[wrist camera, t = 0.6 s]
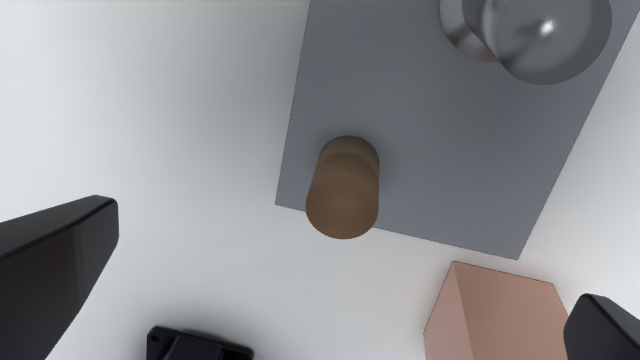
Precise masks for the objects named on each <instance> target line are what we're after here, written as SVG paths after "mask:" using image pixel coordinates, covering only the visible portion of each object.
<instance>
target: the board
mask: <svg viewBox="0 0 640 360" xmlns="http://www.w3.org/2000/svg"><path fill="white" fill-rule="evenodd" d="M609 2H610V5H611V10H612V27H611V32H610V35H609V38H608V41H607V43H606V45H605V47H604V49H603V51H602V52H601V54H600V55H599V57H598V58H597V59H596V60H595V61H594V62H593V63H592V64H591V65H590V66H589V67H588V68H587V69H586V70H584V71H583V72H582V73H580V74H579V75H577V76H575V77H574V78H572V79H569V80H567V81H564V82H561V83H558V84H553V85H533V84H529V83H525V82H523V81H520V80H518V79H517V78H515V77H514V76H512V75H511V74H510V73H509V72H508V71H507V70H506V69H505V68H504V67H503V66H502V65H501V63H500V62H486V61H480V60H477V59H473V58H471V57H469V56H467V55H465V54H464V53H462V52H461V51H459V50H458V49H457V48H456V47H455V46H454V45H453V44H452V43H451V41H450V40H449V38H448V37H447V35H446V34H445V32H444V29H443V27H442V24H441V21H440V15H439V0H310V5H309V11H308V17H307V22H306V28H305V34H304V40H303V45H302V51H301V57H300V63H299V68H298V74H297V80H296V86H295V91H294V97H293V103H292V109H291V114H290V120H289V126H288V132H287V137H286V143H285V149H284V155H283V161H282V166H281V172H280V178H279V184H278V189H277V195H276V201H275V205H279V206H283V207H287V208H292V209H296V210H300V211H305V212H306V209H305V203H306V198H307V195H308V191H309V188H310V185H311V181H312V178H313V174H314V171H315V168H316V164H317V161H318V158H319V154H320V152H321V150H322V148H323V147H324V146H325V145H326V144H327V143H328V142H329V141H330V140H332V139H334V138H336V137H340V136H346V135H349V136H356V137H360V138H362V139H364V140H366V141H367V142H369V143H370V144H371V145H372V146H373V147H374V149H375V150H376V152H377V154H378V157H379V163H380V166H379V211H378V217H377V219H376V222H375V223H374V225H373V226H372V227H374V228H378V229H383V230H387V231H392V232H396V233H400V234H405V235H409V236H413V237H418V238H422V239H426V240H431V241H435V242H439V243H444V244H448V245H452V246H457V247H461V248H465V249H470V250H474V251H478V252H483V253H487V254H491V255H496V256H500V257H504V258H509V259H513V260H518V258H519V256H520V254H521V252H522V250H523V248H524V246H525V244H526V242H527V240H528V238H529V236H530V234H531V231H532V229H533V227H534V225H535V223H536V221H537V219H538V217H539V215H540V213H541V211H542V209H543V207H544V205H545V203H546V201H547V199H548V197H549V195H550V193H551V190H552V188H553V186H554V184H555V182H556V180H557V178H558V176H559V174H560V172H561V170H562V168H563V166H564V164H565V162H566V160H567V158H568V156H569V154H570V152H571V149H572V147H573V145H574V143H575V141H576V139H577V137H578V135H579V133H580V131H581V129H582V127H583V125H584V123H585V121H586V119H587V117H588V115H589V113H590V111H591V108H592V106H593V104H594V102H595V100H596V98H597V96H598V94H599V92H600V90H601V88H602V86H603V84H604V82H605V80H606V78H607V76H608V74H609V72H610V70H611V67H612V65H613V63H614V61H615V59H616V57H617V55H618V53H619V51H620V49H621V47H622V45H623V43H624V41H625V39H626V37H627V35H628V33H629V31H630V29H631V26H632V24H633V22H634V20H635V18H636V16H637V14H638V12H639V10H640V0H609Z"/></svg>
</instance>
